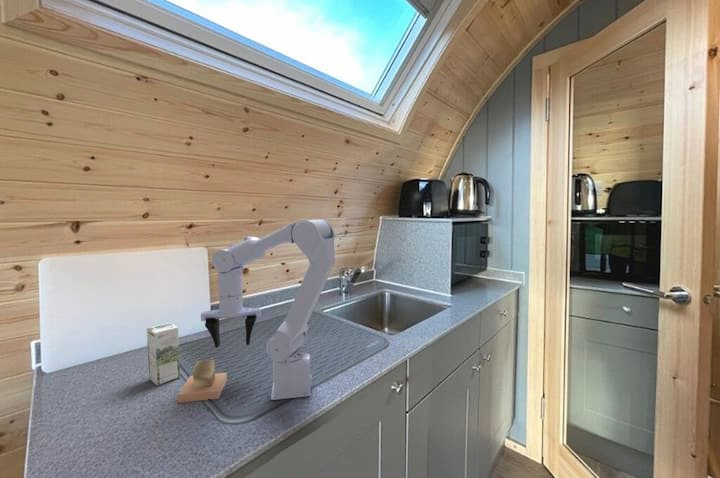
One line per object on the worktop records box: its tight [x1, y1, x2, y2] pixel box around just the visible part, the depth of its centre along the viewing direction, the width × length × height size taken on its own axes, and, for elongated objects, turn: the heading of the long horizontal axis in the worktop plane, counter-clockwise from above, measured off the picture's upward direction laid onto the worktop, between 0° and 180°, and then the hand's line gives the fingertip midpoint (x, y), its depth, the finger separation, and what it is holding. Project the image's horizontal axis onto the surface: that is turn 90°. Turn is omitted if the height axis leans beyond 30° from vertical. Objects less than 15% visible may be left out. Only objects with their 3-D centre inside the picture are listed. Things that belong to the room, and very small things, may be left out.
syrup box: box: [146, 322, 181, 387], centre depth 87 cm, size 6×6×14 cm
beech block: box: [192, 359, 216, 388], centre depth 81 cm, size 4×4×5 cm
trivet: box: [177, 372, 228, 404], centre depth 82 cm, size 9×9×2 cm
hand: (233, 344), depth 86 cm, fingers open, 7 cm apart
